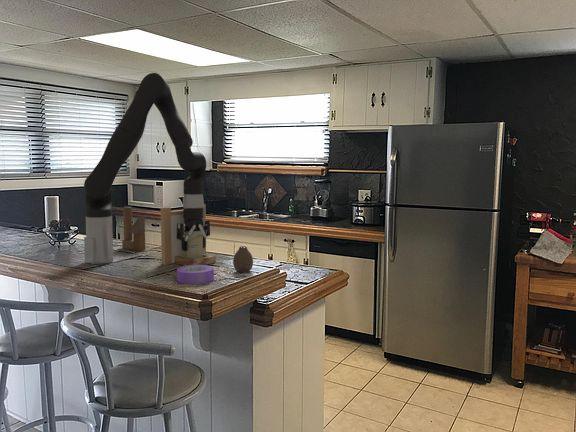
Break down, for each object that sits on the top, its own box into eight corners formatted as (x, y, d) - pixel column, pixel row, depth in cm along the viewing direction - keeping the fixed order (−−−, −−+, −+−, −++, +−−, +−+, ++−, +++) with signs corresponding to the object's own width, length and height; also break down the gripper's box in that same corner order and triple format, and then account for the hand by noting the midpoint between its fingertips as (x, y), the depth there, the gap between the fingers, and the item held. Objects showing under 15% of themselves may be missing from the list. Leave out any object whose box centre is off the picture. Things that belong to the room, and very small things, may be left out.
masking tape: (186, 286, 153) (186, 274, 152) (171, 278, 162) (171, 267, 161) (220, 281, 159) (220, 269, 159) (203, 274, 169) (203, 263, 168)
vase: (243, 268, 177) (242, 244, 176) (257, 271, 173) (257, 246, 172) (228, 271, 172) (228, 247, 171) (243, 275, 167) (243, 249, 166)
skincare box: (186, 264, 184) (185, 231, 182) (185, 261, 188) (185, 229, 187) (203, 263, 185) (203, 231, 184) (202, 261, 190) (202, 229, 188)
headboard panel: (165, 264, 182) (164, 207, 180) (161, 263, 184) (160, 207, 181) (206, 256, 198) (206, 204, 195) (202, 256, 199) (201, 204, 197)
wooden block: (139, 250, 209) (138, 208, 207) (122, 248, 215) (120, 207, 213) (145, 249, 212) (144, 207, 210) (128, 247, 218) (127, 206, 216)
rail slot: (193, 267, 179) (193, 260, 178) (174, 262, 186) (174, 256, 185) (215, 262, 187) (215, 256, 187) (196, 258, 194) (196, 252, 193)
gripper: (201, 204, 192) (201, 245, 194) (171, 206, 181) (172, 250, 183) (214, 205, 187) (214, 247, 189) (184, 208, 176) (185, 253, 178)
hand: (193, 249), depth 186 cm, fingers open, 8 cm apart
